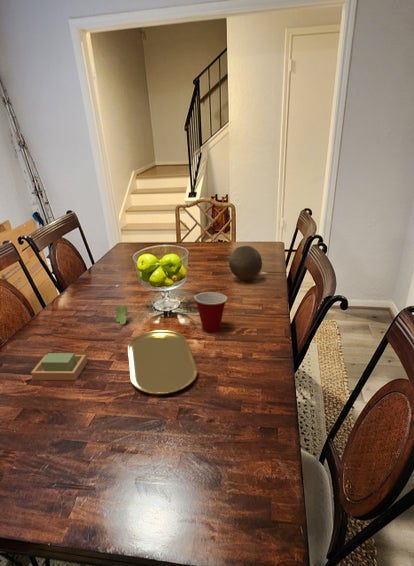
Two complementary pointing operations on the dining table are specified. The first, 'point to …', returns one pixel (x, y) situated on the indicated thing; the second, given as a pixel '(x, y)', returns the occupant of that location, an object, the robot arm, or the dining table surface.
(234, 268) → the dark grey ball
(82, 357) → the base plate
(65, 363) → the green rectangular block
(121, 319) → the seedling
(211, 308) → the plastic cup
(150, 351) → the serving platter
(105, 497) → the dining table surface
